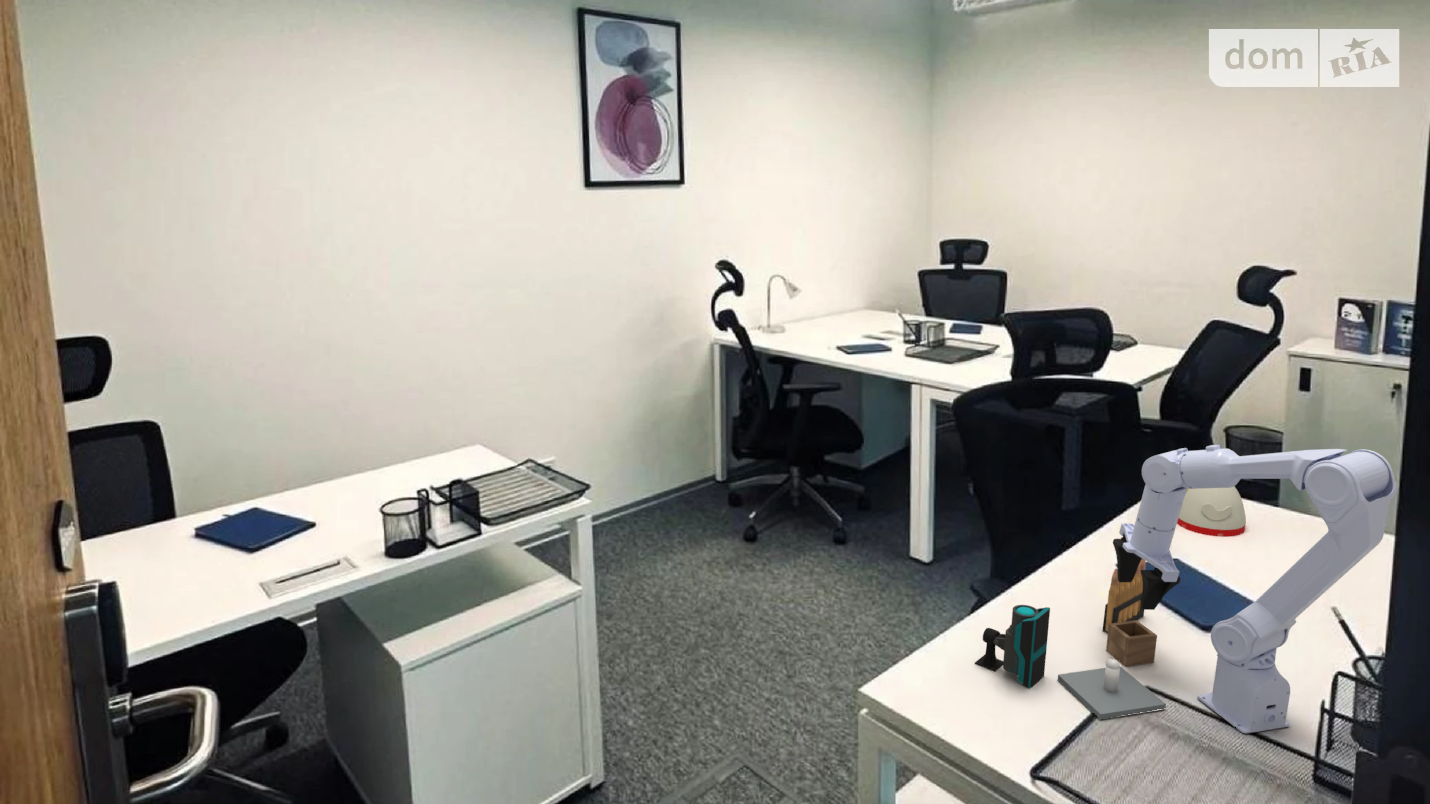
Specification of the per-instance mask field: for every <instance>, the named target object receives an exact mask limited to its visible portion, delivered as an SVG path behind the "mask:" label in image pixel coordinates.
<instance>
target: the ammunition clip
mask: <svg viewBox="0 0 1430 804" xmlns="http://www.w3.org/2000/svg"><path fill="white" fill-rule="evenodd" d="M1146 564H1147V563H1146V561H1145V560H1144V559H1142V560H1141V561H1140V563H1139V566H1138V568H1137V571H1136V574H1135V576H1134V578H1133V580H1132V582H1119V581H1118V570H1117V568H1115V569H1114V571H1113V573H1112V576H1111V581H1110V584H1109V585H1110V586H1109V590H1108V596H1107V603H1106V604H1105V606H1104V615H1103V623H1102V632H1104V633H1107V634H1108V627H1109V624H1111V623H1119V622H1126V621H1133V620H1137V621H1139V620H1141V619H1142V618H1144V617H1145V610H1143V609H1142V608H1141V596H1142V591H1143V581H1142V575H1141V570H1146V567H1147V566H1146Z"/></svg>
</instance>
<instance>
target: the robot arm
mask: <svg viewBox="0 0 1430 804" xmlns="http://www.w3.org/2000/svg"><path fill="white" fill-rule="evenodd" d="M1347 451H1348V450H1347V449H1343V448H1325V449H1319V448H1318V449H1304V450H1292V451H1283V452H1273V453H1272V452H1271V453H1261V454H1250V455H1241V456H1240V455H1238V454H1237V453H1236V452H1235V451H1234V450H1231V449H1230V448H1221V446H1220V444H1211V445H1207V446H1206V447H1205V449H1198V450H1196V449H1195V450H1188V448H1187V447H1184V448H1182V447H1181V448H1178V449H1175V450H1171V451H1168V452H1163V453H1160V454H1155V455H1153V456H1151V457H1149V458H1147V459H1145V461H1144V462H1143V464H1142V466H1141V477H1142V480H1143V481H1144V484H1145V485H1144V489H1143V493H1142V496H1141V501H1140V504H1139V507H1138V510H1137V511H1138V512H1137V515H1136V517H1135V522H1134V523H1131V522H1130V523H1126V522H1123V523H1122V522H1121V525H1120V528H1119V532H1118V533H1119V535H1121V536H1122V537H1121V538H1113V541H1112V545H1113V547H1114V551H1115V555H1116V556H1115V557H1116V562H1117V563H1116V566H1117V568H1116V569H1117V570H1118V581H1119V582H1132V580H1133V578H1134V576H1135V574H1136V571H1137V568H1138V566H1139V563H1140V561H1141V560H1142V559H1144V560H1145V562H1147V563H1148V564H1150V565H1152V566H1153V567H1154V568H1153V569H1145V570H1141V575H1142V581H1143V591H1142V596H1141V608H1142V609H1143V610H1144V611H1145V610H1150V611H1153V610H1154V611H1155V609H1156V608H1157V606H1158V605H1159V604H1160V602H1161V600H1163V598H1164V596H1166V594H1167V593H1168V592H1169V591H1170V590H1171V589H1173V588H1174V587H1175V586H1177V585H1178V584H1180V582H1181V577H1180V576H1179V575H1180V571H1179V569H1178V568H1177V566H1176V564H1175V561H1174V558H1173V556H1172V553H1171V549H1170V548H1171V546H1172V542H1173V538H1174V534H1175V532H1176V528H1177V525H1178V524H1177V521H1178V518H1179V514H1180V511H1181V507H1182V504H1183V500H1184V497H1185V495H1186V492H1187V489H1202V488H1231V487H1233V486H1235V487H1236V485H1237V484H1238V483H1239V482H1240V480H1242V479H1245V480H1246V479H1248V480H1249V479H1250V480H1251V479H1252V480H1253V479H1256V480H1257V479H1258V480H1259V479H1261V480H1262V479H1263V480H1265V479H1266V480H1268V479H1271V480H1272V479H1274V480H1275V479H1277V480H1278V479H1279V480H1286V479H1287V480H1290V481H1291V482H1292V483H1293V485H1294V486H1295V488H1296V490H1297V491H1300V492H1302V491H1306V492H1307V494H1308V496H1309V499H1310V500H1311V501H1312V503H1313V505H1314V507H1315V508H1316V510H1317V511H1318V514H1319V515H1320V517H1321V519H1322V520H1323V521H1324V523H1325V525H1326V526H1327V529H1328V531H1327V533H1325V534H1324V535H1323V537H1321V538H1320V539H1319V540H1318V541H1317V542H1315V544H1314V545H1313V546H1312V547H1310V549H1309V550H1308V551H1307V552H1305V553H1304V554H1303V555H1302V556H1301V557H1300V558H1299V559H1298V560H1297V561H1296V562H1295V563H1294V564H1292V566H1291V567H1290V568H1288V570H1287V571H1285V573H1283V575H1281V576H1280V577H1279V578H1278V579H1277V580H1276V581H1275V582H1274V583H1273V584H1272V585H1270V587H1269V588H1268V589H1267V590H1266V591H1264V593H1262V594H1261V595H1260V596H1259V597H1258V598H1257V599H1256V600H1255V601H1254V602H1252V603H1251V604H1249V605H1248V606H1246V607H1245V608H1243V609H1242V610H1241V611H1239V612H1238V613H1236V614H1235V615H1234V616H1232V617H1229V618H1228V619H1224V620H1220V621H1218V622H1216V623H1215V624H1214V625H1213V626H1212V628H1211V631H1210V641H1211V643H1212V644H1211V645H1212V646H1213V648H1214V650H1215V652H1216V653H1217V654H1216V656H1217V660H1216V664H1215V665H1216V666H1215V672H1214V673H1215V674H1214V680H1213V687H1212V692H1209V693H1202V694H1198V695H1197V699H1198V700H1199V701H1201V702H1202V703H1203V704H1205V705H1206V706H1207V707H1208V708H1209V709H1211V710H1212V711H1213V712H1215V713H1216V714H1218V715H1219V716H1220V717H1221V718H1222V719H1224V720H1225V721H1226V722H1228V723H1229V724H1230V725H1232V726H1233V727H1234V728H1235V727H1236V729H1237V730H1238V731H1239V732H1241V733H1242V734H1252V733H1257V732H1264V731H1269V730H1275V729H1281V728H1287V727H1290V726H1291V725H1290V724H1291V723H1290V722H1289V721H1288V720H1287V715H1288V709H1289V708H1288V707H1289V702H1290V695H1291V686H1290V683H1289V681H1288V680H1287V679H1286V678H1285V677H1284V676H1283V675H1282V674H1281V673H1280V671H1279V670H1278V668H1277V666H1276V656H1277V655H1276V654H1277V649H1278V648H1280V647H1282V646H1283V645H1285V644H1286V642H1287V640H1288V638H1289V633H1290V630H1291V628H1293V626H1294V625H1296V623H1297V620H1296V619H1297V618H1298V617H1299V616H1300V615H1301V614H1302V613H1303V612H1305V611H1306V610H1307V609H1308V608H1309V607H1310V606H1311V605H1312V604H1313V603H1314V602H1316V601H1317V600H1318V599H1319V598H1320V597H1322V596H1323V594H1325V593H1326V592H1327V591H1328V590H1329V589H1330V588H1332V586H1333V585H1335V584H1337V582H1338V581H1339V580H1341V578H1343V576H1344V575H1346V574H1347V573H1349V571H1350V570H1352V568H1354V567H1355V566H1356V565H1357V564H1358V563H1359V562H1360V561H1362V559H1364V558H1365V557H1366V556H1368V554H1369V553H1371V551H1373V550H1374V549H1375V548H1376V547H1377V546H1379V544H1380V543H1381V542H1382V540H1383V538H1384V535H1385V530H1386V526H1387V525H1386V523H1387V519H1388V515H1389V510H1390V503H1391V501H1392V499H1393V497H1394V495H1395V494H1396V492H1397V490H1398V485H1397V482H1396V479H1395V478H1396V477H1395V476H1394V475H1395V474H1394V471H1393V469H1392V466H1391V464H1390V463H1389V462H1388V460H1387V459H1386V458H1385V457H1384V456H1383V455H1382V454H1380V453H1378V452H1377V451H1374V450H1370V449H1363V448H1362V449H1356V450H1353V451H1352V450H1351V451H1350V452H1348V453H1347V454H1344V452H1347ZM1343 454H1344V455H1343Z"/></svg>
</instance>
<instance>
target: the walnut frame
mask: <svg viewBox="0 0 1430 804" xmlns="http://www.w3.org/2000/svg"><path fill="white" fill-rule="evenodd" d="M1157 638H1158V635H1157V634H1156V633H1155V632H1153V630H1151V629H1149V628H1148V627H1147V626H1145V625H1144V624H1143V623H1141V622H1139V620H1133V621H1126V622H1119V623H1111V624H1109V627H1108V633H1107V639H1106V645H1105V646H1106V647H1105V648H1106V649H1105V651H1106V652H1107V653H1108V654H1110V655H1111V656H1112V657H1113V659H1115V660H1117V661H1118V662H1119V663H1121V664H1122V665H1123V666H1124V667H1128V668H1129V667H1134V666H1140V665H1147V664H1153V663H1155V658H1156V647H1157Z"/></svg>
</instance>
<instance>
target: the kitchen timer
mask: <svg viewBox="0 0 1430 804" xmlns="http://www.w3.org/2000/svg"><path fill="white" fill-rule="evenodd" d="M1244 507H1245V506H1244V502H1243V500H1242V497H1241V494H1240V493H1239V491H1238V489H1237V488H1236V485H1235V486H1233V487H1231V488H1202V489H1187V492H1186V495H1185V497H1184V500H1183V504H1182V507H1181V511H1180V514H1179V518H1178V521H1177V525H1178V526H1179V527H1180V528H1183V529H1184V530H1187V531H1190V532H1192V533H1196V534H1201V535H1205V536H1212V537H1223V538H1224V537H1225V538H1226V537H1236V536H1240V535H1243V534H1244V533H1245V530H1246V523H1247V520H1246V511H1245V508H1244Z"/></svg>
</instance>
